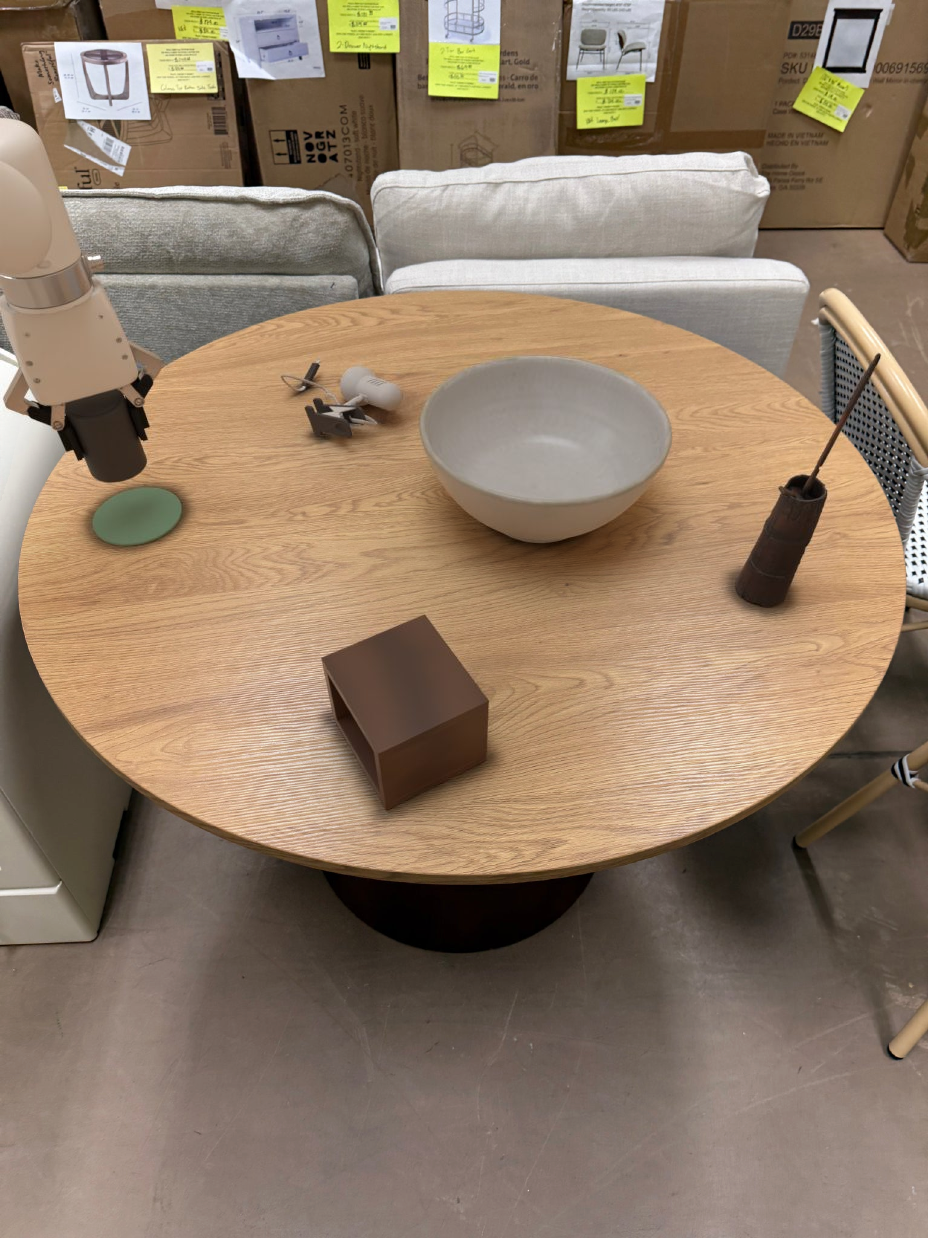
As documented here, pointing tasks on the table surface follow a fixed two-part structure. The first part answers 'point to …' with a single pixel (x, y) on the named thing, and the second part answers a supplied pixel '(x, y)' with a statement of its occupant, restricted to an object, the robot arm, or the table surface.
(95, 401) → the dark brown cylinder
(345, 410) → the clip-on lamp
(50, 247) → the robot arm
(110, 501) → the mat
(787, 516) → the butter churn
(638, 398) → the decorative bowl
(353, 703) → the box
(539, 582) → the table surface
